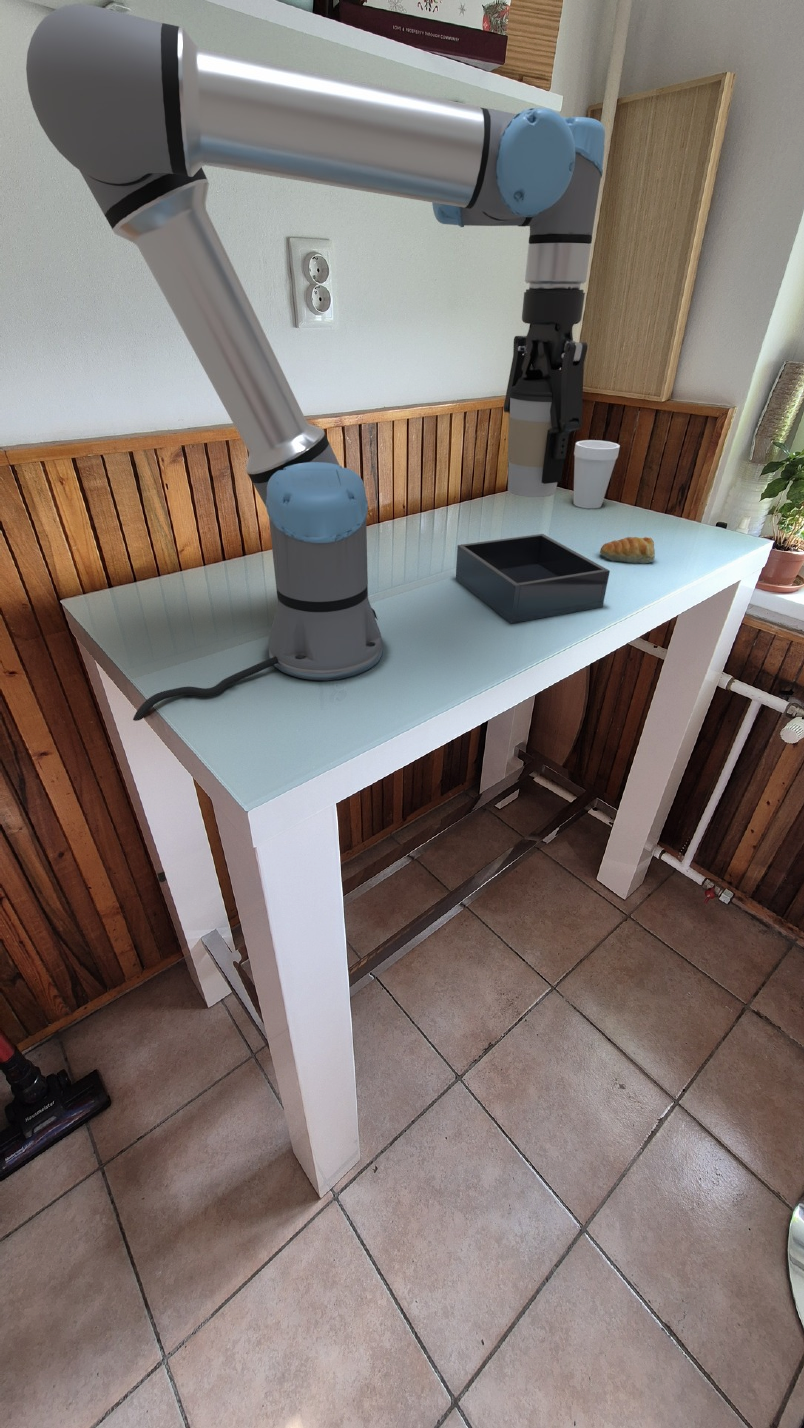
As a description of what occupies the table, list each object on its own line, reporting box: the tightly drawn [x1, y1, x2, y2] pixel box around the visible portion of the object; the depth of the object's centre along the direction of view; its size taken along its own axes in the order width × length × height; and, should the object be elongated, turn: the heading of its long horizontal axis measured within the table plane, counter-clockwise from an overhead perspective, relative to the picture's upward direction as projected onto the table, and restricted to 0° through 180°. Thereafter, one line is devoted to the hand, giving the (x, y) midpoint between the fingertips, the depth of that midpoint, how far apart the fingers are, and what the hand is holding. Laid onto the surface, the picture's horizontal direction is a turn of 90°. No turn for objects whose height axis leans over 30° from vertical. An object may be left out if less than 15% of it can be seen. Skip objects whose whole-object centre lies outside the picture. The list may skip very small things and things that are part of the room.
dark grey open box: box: [455, 533, 611, 625], centre depth 104 cm, size 17×19×6 cm
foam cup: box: [572, 439, 621, 509], centre depth 145 cm, size 10×9×13 cm
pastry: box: [599, 536, 656, 564], centre depth 119 cm, size 9×7×4 cm
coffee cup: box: [507, 376, 561, 498], centre depth 90 cm, size 9×9×15 cm
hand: (533, 474), depth 93 cm, fingers closed on coffee cup, 9 cm apart
